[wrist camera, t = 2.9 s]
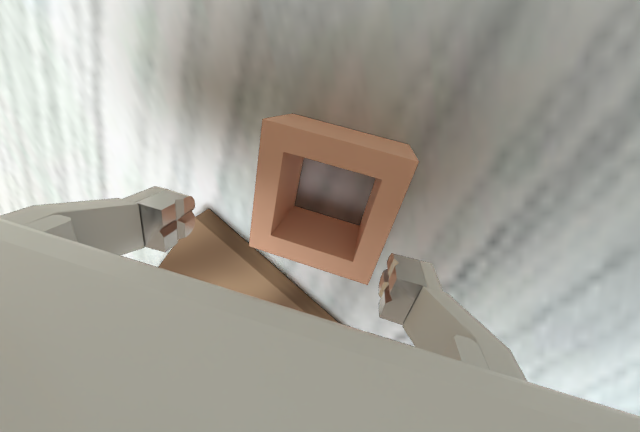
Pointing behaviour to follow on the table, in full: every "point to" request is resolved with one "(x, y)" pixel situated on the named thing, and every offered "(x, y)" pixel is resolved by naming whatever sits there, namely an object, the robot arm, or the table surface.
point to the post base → (234, 266)
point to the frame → (314, 228)
